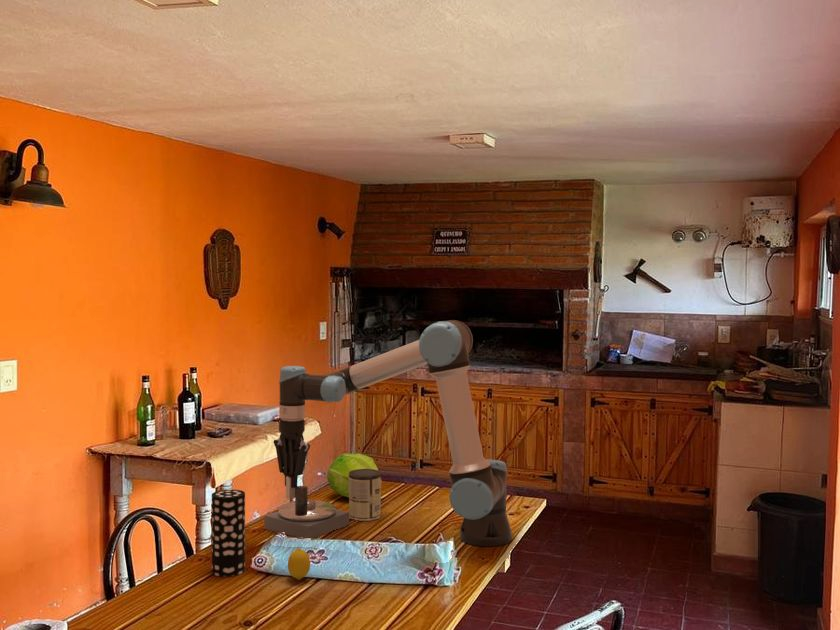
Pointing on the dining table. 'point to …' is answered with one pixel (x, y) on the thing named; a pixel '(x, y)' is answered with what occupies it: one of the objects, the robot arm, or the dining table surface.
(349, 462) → the lettuce
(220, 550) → the spotted tube
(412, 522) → the dining table surface
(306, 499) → the peg on round base
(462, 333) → the robot arm
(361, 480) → the coffee can
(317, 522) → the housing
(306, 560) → the lemon
